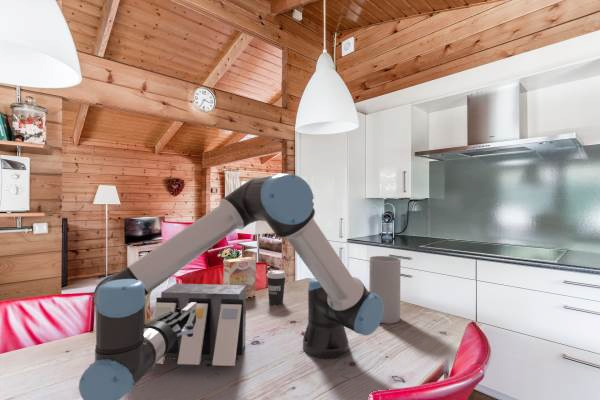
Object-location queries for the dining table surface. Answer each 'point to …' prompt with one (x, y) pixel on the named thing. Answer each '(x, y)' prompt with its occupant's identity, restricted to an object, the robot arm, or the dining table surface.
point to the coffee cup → (276, 286)
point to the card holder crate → (214, 299)
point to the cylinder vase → (386, 285)
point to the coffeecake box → (241, 273)
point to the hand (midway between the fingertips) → (193, 306)
